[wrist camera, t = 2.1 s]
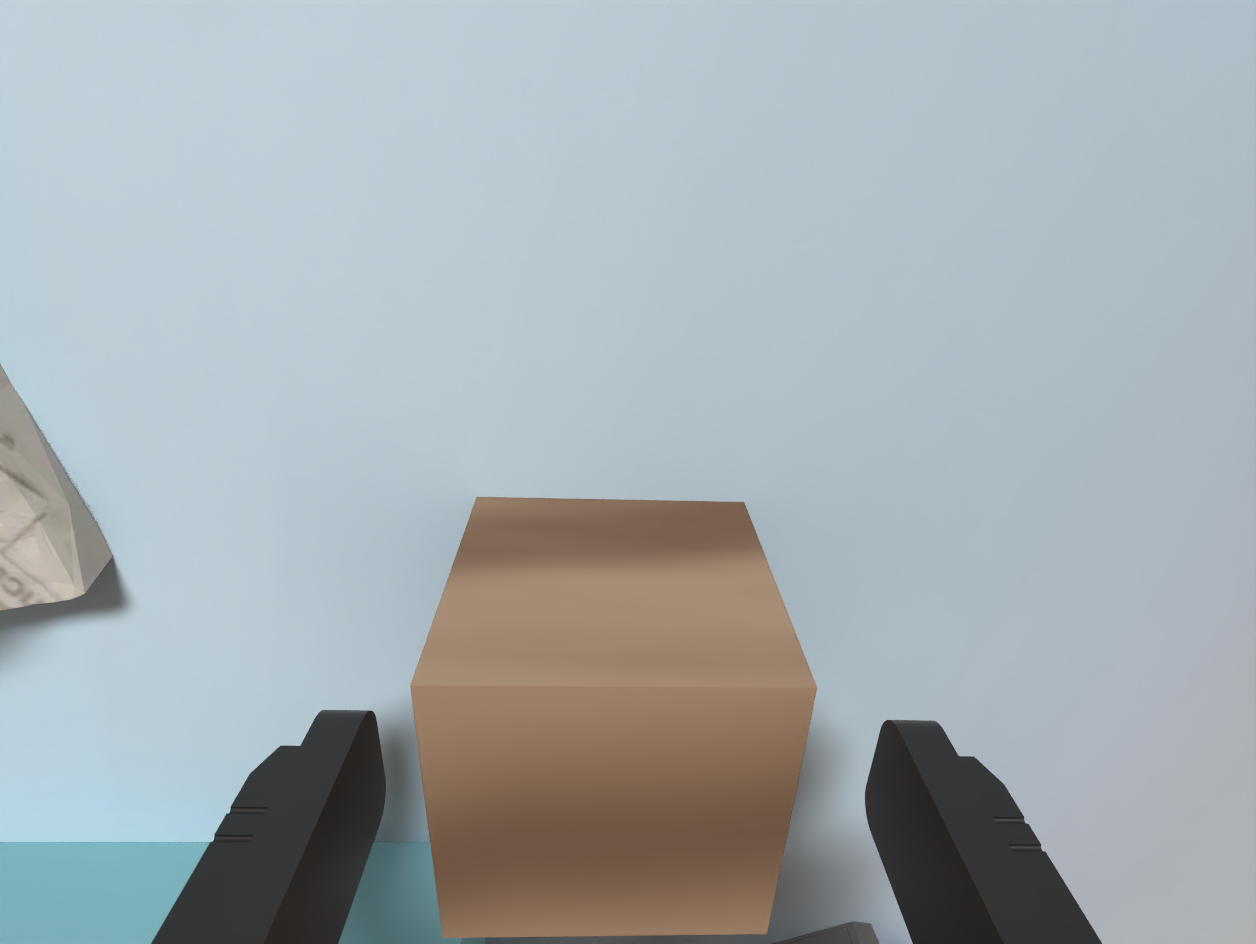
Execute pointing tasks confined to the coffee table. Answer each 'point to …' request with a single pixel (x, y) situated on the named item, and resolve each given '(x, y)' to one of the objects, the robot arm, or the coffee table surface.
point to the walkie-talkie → (838, 935)
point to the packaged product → (40, 516)
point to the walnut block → (609, 722)
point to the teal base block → (155, 876)
